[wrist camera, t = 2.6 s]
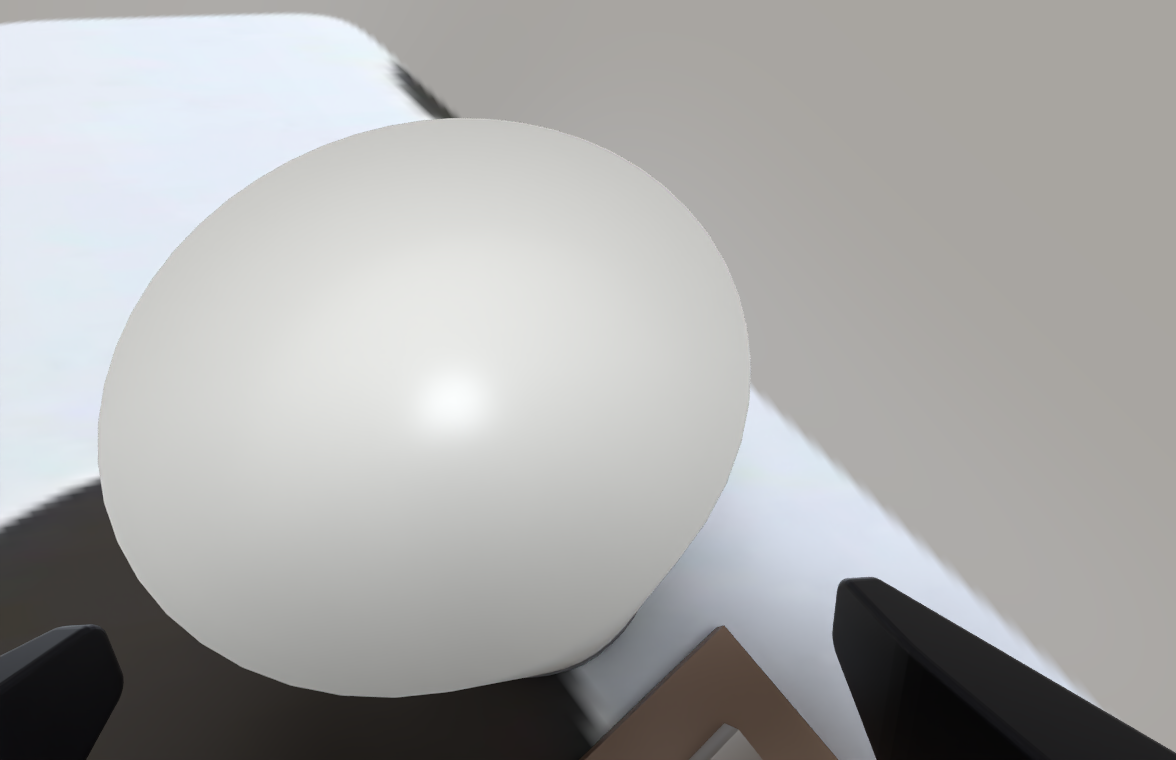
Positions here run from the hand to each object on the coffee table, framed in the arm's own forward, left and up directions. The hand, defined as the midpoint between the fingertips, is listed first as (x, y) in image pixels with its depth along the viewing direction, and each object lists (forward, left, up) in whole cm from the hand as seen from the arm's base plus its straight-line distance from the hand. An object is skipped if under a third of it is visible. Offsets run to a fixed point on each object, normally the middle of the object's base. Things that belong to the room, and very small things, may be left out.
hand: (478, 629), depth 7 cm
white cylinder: (+2, -1, -9) cm, 9 cm away
